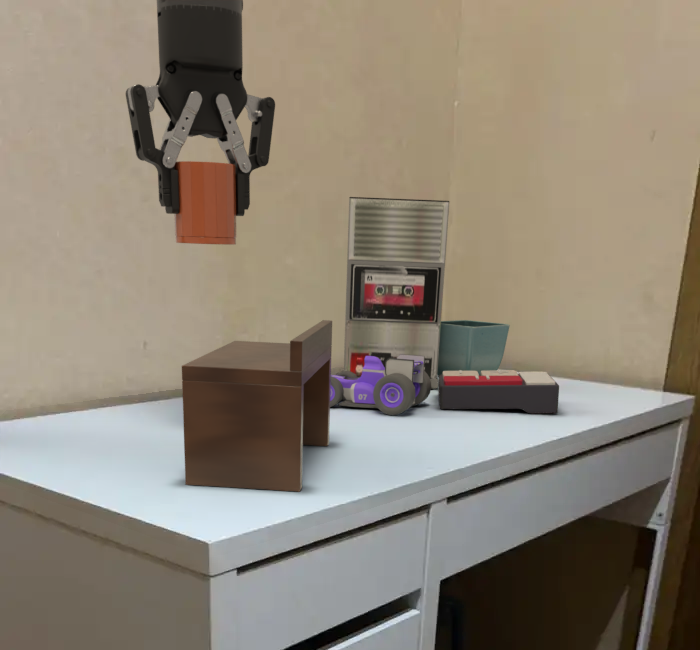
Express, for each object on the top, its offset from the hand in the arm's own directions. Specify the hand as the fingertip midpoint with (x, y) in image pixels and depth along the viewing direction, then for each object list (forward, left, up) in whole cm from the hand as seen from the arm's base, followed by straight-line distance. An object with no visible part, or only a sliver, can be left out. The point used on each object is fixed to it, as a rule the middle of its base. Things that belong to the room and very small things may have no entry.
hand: (205, 214), depth 90 cm
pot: (0, 0, -3) cm, 3 cm away
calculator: (+31, +31, -22) cm, 49 cm away
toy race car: (+14, +25, -22) cm, 36 cm away
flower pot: (+27, +48, -22) cm, 60 cm away
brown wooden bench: (+7, -9, -22) cm, 25 cm away
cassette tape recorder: (+16, +44, -22) cm, 52 cm away
